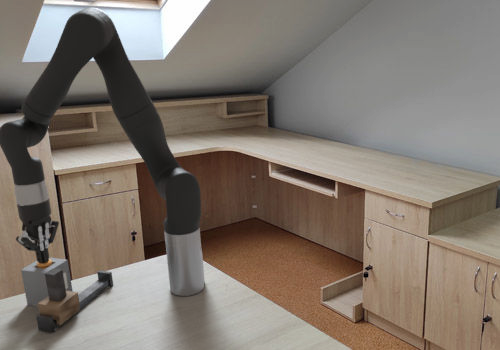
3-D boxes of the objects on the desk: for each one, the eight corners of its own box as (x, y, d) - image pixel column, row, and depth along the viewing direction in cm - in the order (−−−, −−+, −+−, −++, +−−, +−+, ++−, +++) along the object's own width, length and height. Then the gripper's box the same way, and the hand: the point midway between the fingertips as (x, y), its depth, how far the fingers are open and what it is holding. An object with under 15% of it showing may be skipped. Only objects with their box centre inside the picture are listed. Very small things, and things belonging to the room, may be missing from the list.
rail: (101, 283, 134) (99, 270, 133) (113, 284, 133) (111, 271, 132) (38, 330, 112) (35, 315, 111) (52, 333, 111) (49, 318, 110)
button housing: (49, 289, 132) (43, 256, 129) (74, 293, 129) (69, 260, 126) (27, 304, 124) (20, 269, 122) (53, 309, 121) (47, 273, 119)
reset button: (46, 277, 127) (43, 258, 126) (57, 278, 126) (54, 259, 125) (37, 283, 124) (33, 264, 123) (48, 285, 123) (44, 265, 122)
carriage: (61, 306, 120) (53, 263, 117) (80, 310, 118) (73, 266, 115) (40, 321, 114) (32, 276, 111) (61, 325, 112) (53, 279, 109)
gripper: (40, 190, 126) (50, 250, 131) (-1, 206, 114) (12, 272, 119) (63, 192, 124) (72, 253, 128) (24, 208, 112) (36, 275, 116)
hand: (43, 262), depth 124 cm, fingers closed
